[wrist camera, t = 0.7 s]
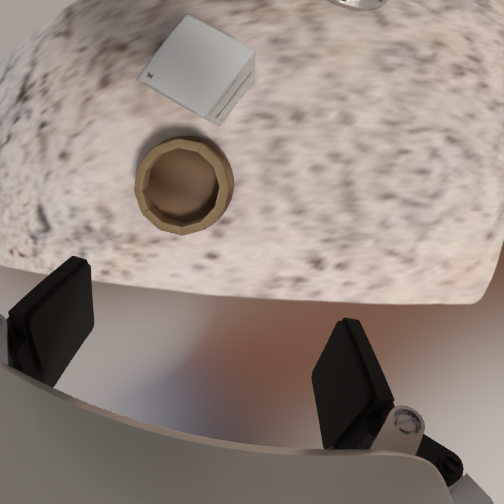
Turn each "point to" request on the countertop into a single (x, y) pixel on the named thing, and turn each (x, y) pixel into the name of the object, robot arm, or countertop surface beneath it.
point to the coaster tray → (184, 185)
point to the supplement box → (201, 69)
